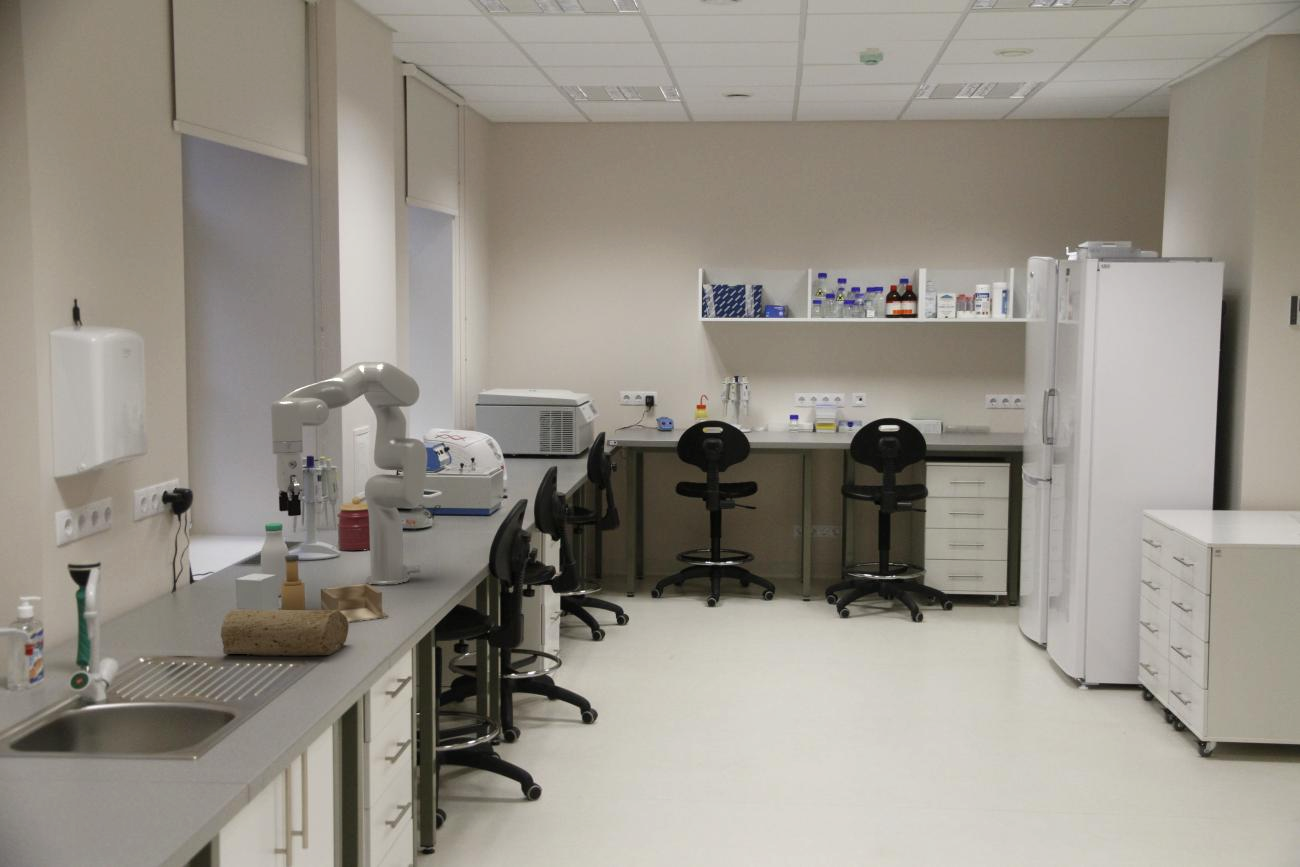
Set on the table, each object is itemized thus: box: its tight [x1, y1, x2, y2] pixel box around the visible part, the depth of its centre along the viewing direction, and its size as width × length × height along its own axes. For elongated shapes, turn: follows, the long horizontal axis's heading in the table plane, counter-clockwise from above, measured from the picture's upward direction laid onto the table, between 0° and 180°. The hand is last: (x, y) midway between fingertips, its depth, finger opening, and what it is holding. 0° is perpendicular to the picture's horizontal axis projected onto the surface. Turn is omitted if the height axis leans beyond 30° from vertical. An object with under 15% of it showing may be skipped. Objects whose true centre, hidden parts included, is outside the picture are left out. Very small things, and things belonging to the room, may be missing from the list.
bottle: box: [280, 554, 307, 610], centre depth 310 cm, size 6×6×15 cm
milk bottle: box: [260, 522, 290, 597], centre depth 332 cm, size 8×8×20 cm
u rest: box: [320, 583, 389, 623], centre depth 306 cm, size 15×14×7 cm
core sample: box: [220, 609, 350, 657], centre depth 272 cm, size 14×26×10 cm, turn 86°
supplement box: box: [235, 573, 280, 610], centre depth 296 cm, size 7×7×13 cm
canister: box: [336, 496, 370, 551], centre depth 403 cm, size 13×13×18 cm
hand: (290, 513), depth 308 cm, fingers open, 9 cm apart
